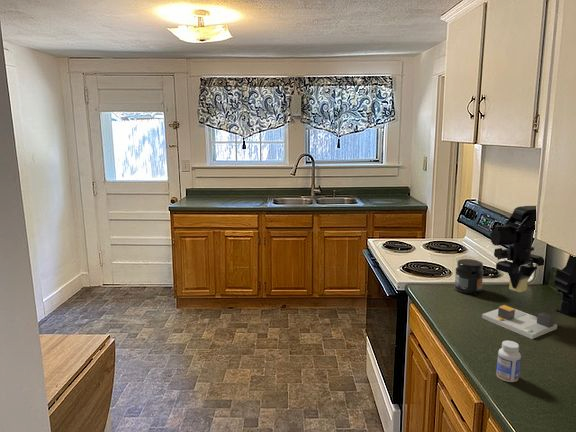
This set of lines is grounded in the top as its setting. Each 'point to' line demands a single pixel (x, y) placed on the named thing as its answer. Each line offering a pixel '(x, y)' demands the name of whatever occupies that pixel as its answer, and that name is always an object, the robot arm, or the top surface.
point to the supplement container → (469, 276)
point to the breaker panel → (519, 323)
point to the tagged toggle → (506, 312)
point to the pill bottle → (508, 361)
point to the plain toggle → (545, 319)
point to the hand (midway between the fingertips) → (518, 286)
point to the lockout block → (520, 284)
